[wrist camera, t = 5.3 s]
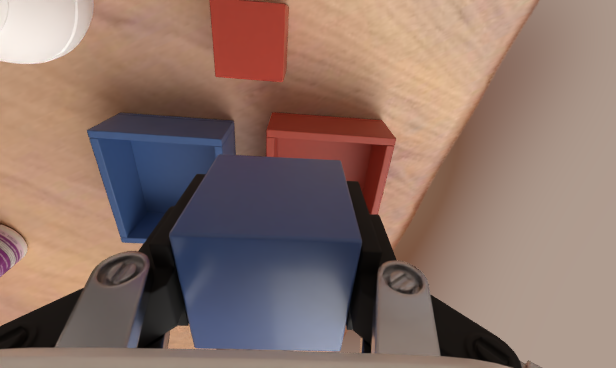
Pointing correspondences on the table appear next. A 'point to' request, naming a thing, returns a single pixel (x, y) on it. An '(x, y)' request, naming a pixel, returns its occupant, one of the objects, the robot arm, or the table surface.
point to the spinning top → (42, 28)
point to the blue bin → (154, 163)
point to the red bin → (337, 147)
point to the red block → (249, 39)
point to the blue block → (268, 254)
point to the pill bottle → (10, 248)
